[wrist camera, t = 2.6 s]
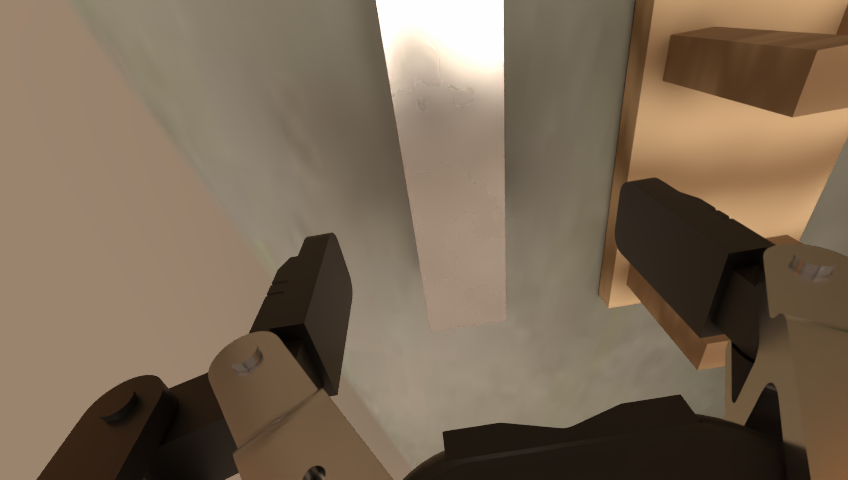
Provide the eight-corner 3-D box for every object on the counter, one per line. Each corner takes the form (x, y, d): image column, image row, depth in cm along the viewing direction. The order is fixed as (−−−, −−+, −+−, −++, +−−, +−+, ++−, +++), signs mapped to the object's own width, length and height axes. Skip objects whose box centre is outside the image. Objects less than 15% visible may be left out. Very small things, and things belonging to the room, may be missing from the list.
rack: (637, -12, 17) (810, -25, 10) (901, -63, 17) (1277, -112, 10) (598, 294, 27) (670, 396, 20) (762, 267, 27) (895, 361, 20)
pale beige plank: (367, -90, 15) (352, -144, 10) (463, -105, 15) (501, -167, 10) (422, 259, 25) (430, 331, 20) (481, 251, 25) (506, 320, 19)
